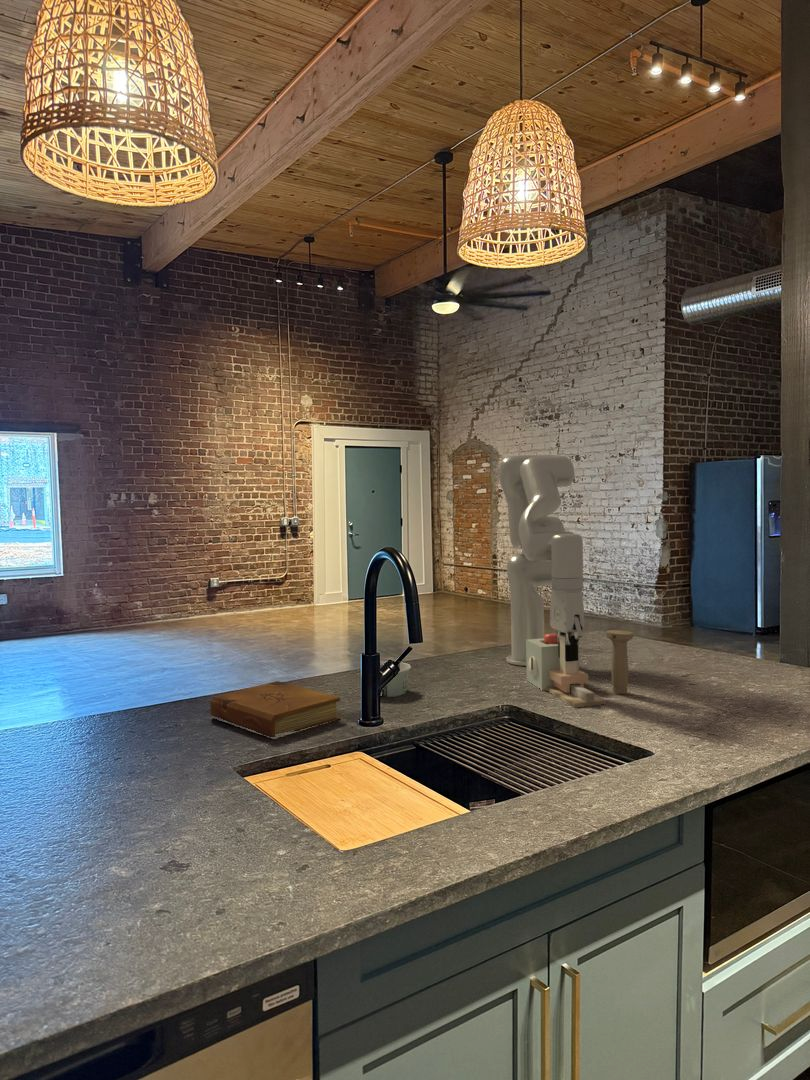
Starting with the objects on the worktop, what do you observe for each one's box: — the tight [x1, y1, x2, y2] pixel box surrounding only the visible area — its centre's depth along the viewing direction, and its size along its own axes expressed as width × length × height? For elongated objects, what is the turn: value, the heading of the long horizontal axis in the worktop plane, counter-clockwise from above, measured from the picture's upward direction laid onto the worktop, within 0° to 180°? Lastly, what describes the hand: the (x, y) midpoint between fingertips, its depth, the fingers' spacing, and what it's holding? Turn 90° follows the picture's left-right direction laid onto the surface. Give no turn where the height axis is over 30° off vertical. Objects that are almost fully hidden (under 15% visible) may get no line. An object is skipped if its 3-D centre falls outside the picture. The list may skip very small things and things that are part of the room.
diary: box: [209, 680, 341, 737], centre depth 169 cm, size 23×19×6 cm
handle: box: [605, 629, 634, 695], centre depth 183 cm, size 5×6×15 cm
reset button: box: [544, 633, 558, 644], centre depth 193 cm, size 4×4×3 cm
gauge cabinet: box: [525, 638, 580, 691], centre depth 193 cm, size 10×11×11 cm
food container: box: [380, 661, 412, 698], centre depth 190 cm, size 12×12×6 cm
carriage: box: [549, 635, 589, 693], centre depth 183 cm, size 7×7×13 cm
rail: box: [546, 684, 607, 709], centre depth 180 cm, size 16×8×3 cm, turn 13°
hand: (568, 658), depth 183 cm, fingers closed on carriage, 3 cm apart
